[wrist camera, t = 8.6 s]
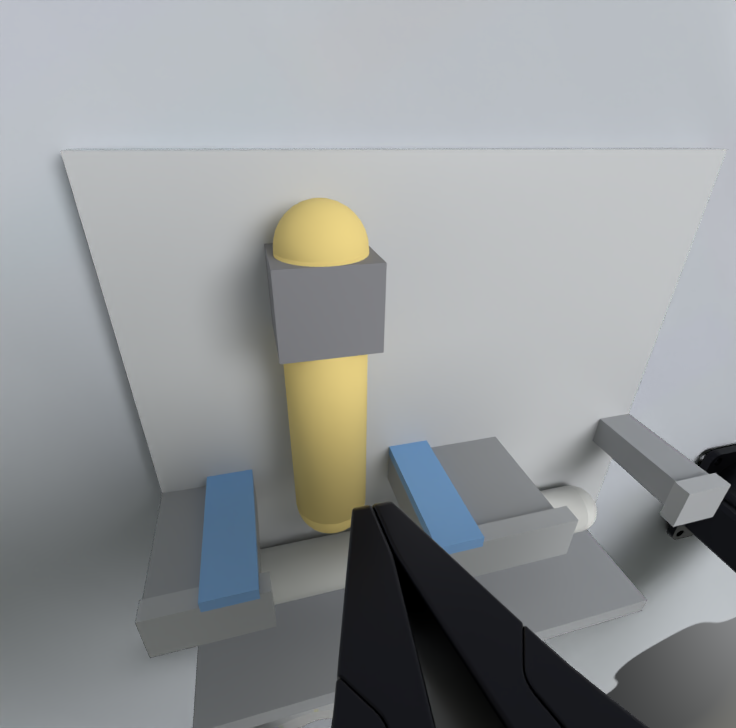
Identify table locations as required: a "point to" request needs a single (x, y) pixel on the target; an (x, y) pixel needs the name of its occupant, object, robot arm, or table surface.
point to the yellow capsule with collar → (326, 351)
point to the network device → (301, 718)
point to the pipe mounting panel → (391, 383)
